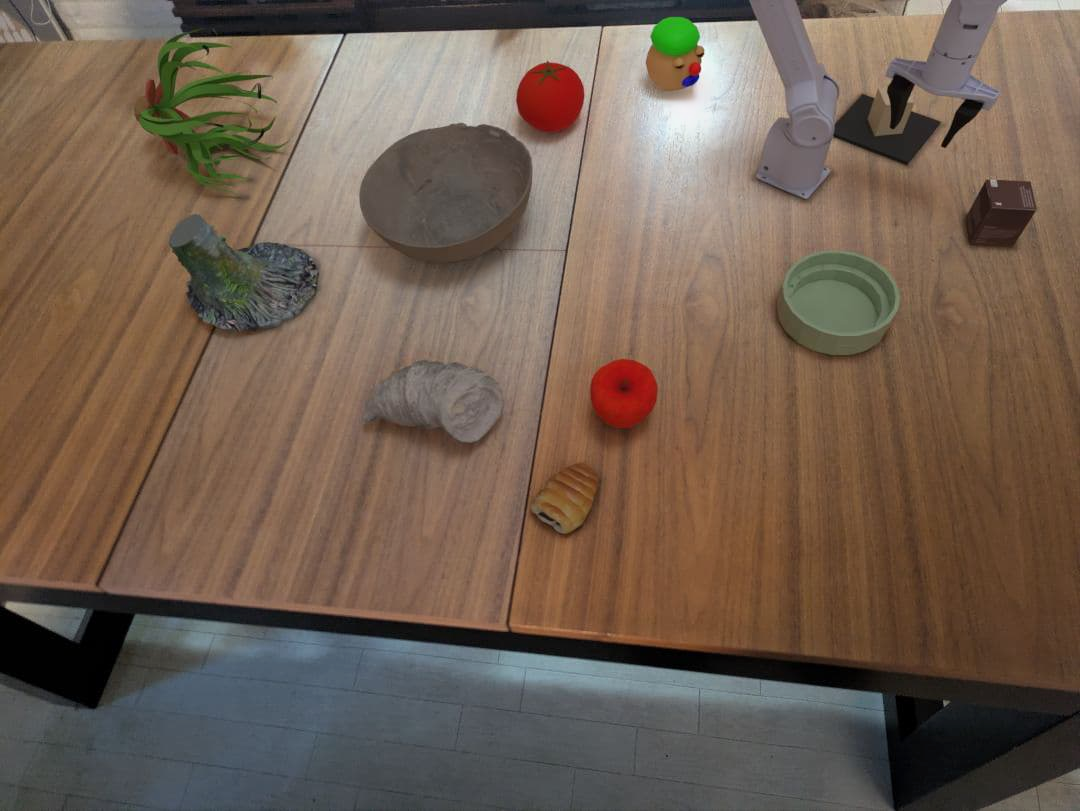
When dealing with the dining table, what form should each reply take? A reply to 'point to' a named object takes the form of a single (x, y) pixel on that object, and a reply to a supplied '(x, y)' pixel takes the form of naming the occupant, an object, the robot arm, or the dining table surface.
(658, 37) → the figurine
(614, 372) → the apple
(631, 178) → the dining table surface
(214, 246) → the tree stump
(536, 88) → the tomato
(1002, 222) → the box
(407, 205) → the bowl
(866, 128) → the mat
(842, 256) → the green bowl
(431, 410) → the seashell
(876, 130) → the block
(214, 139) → the decorative plant
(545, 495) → the pastry
